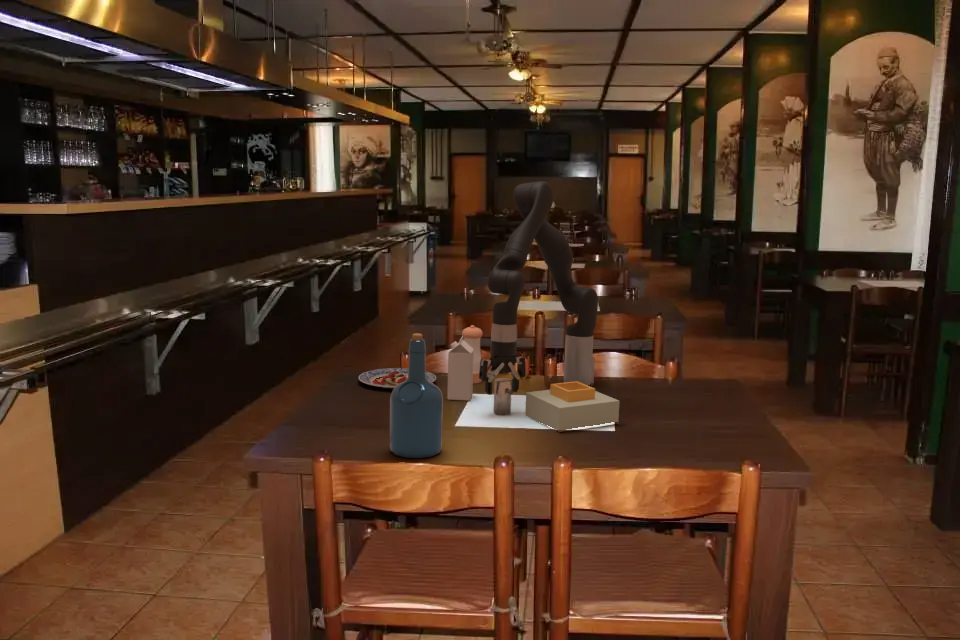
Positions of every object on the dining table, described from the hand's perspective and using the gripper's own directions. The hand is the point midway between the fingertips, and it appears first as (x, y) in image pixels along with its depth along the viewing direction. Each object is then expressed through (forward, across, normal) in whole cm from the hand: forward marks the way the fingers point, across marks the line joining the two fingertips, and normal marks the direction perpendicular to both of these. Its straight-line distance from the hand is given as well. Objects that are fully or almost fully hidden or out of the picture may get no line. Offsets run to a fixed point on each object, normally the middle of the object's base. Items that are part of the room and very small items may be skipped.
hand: (501, 392), depth 244 cm
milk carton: (+6, +4, -20) cm, 21 cm away
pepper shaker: (+6, -9, -38) cm, 40 cm away
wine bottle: (+7, +37, +22) cm, 43 cm away
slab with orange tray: (+6, -15, +14) cm, 22 cm away
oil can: (+6, 0, +1) cm, 6 cm away
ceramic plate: (+7, +15, -45) cm, 48 cm away
